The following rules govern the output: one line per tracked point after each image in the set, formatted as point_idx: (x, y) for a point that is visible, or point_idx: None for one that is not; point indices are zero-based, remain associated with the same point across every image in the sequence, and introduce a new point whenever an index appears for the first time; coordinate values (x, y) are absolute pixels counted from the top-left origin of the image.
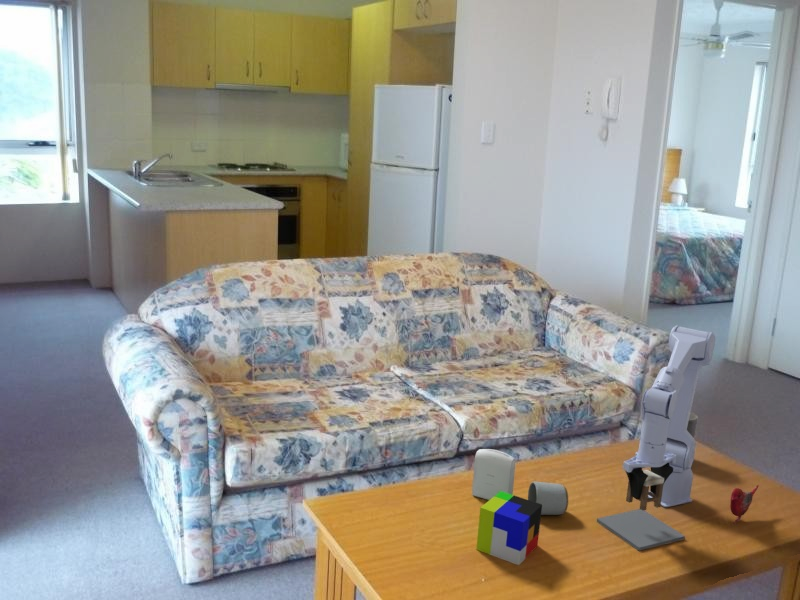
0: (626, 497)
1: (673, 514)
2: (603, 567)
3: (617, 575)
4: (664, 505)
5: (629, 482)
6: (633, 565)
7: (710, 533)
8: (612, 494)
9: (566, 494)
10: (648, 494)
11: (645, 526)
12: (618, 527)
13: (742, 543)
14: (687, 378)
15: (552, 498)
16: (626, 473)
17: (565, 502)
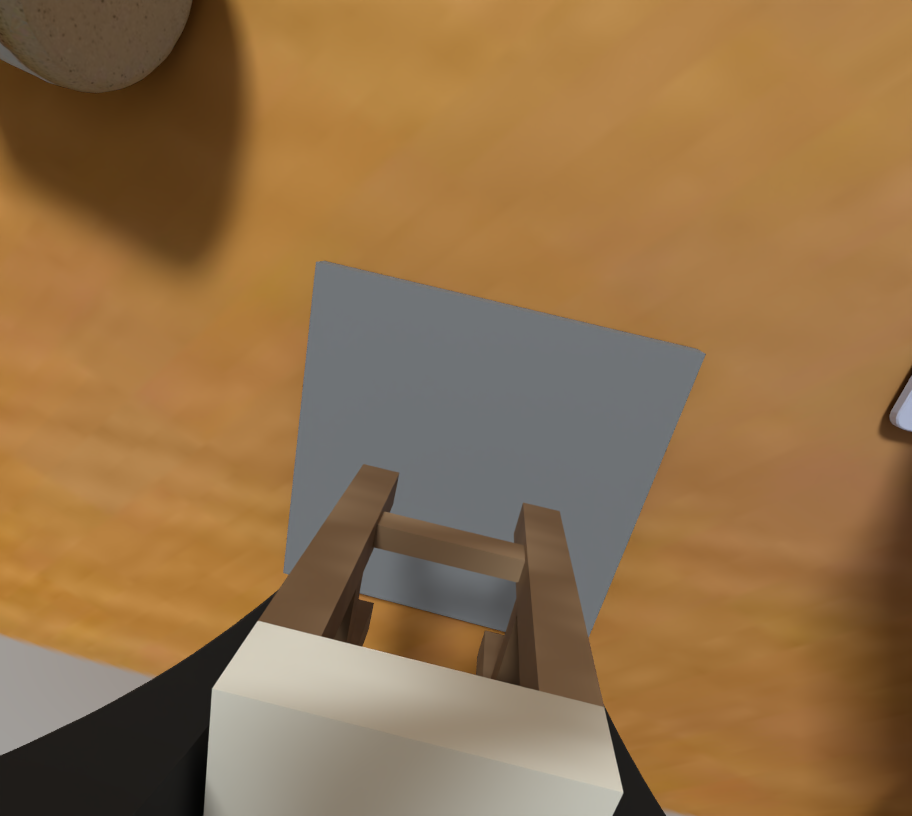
0: (354, 478)
1: (830, 489)
2: (56, 536)
3: (74, 594)
4: (900, 416)
5: (191, 656)
6: (182, 598)
7: (751, 687)
8: (815, 24)
9: None
10: (510, 618)
11: (497, 491)
12: (348, 408)
13: (769, 792)
14: None
15: None
16: (35, 740)
17: (24, 67)
